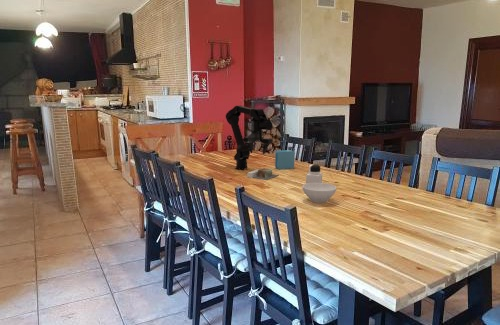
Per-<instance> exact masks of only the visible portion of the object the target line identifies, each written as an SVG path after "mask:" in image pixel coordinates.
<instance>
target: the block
mask: <svg viewBox="0 0 500 325" xmlns="http://www.w3.org/2000/svg"><path fill="white" fill-rule="evenodd" d="M259 169H260V170H258V177H264V178H267V177H270V176H272V174H273V169H272V168H266V167H265V168H264V167H263V169H261V168H259Z"/></svg>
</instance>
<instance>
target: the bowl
mask: <svg viewBox="0 0 500 325" xmlns="http://www.w3.org/2000/svg"><path fill="white" fill-rule="evenodd" d="M301 188H302V191H303V193H304V194H305V196H307V197H308V199H309V200H310V201H311V202H312V203H315V204H325V203H327V202H328V201H329V200H330V199H331V198H332V197H333V196H334V195H335V193H336V192H337V186H336V185H334V184H331V183H327V182H326V183H325V182H322V183H307V184H306V183H304V184H302V187H301Z"/></svg>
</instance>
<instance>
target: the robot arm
mask: <svg viewBox="0 0 500 325" xmlns="http://www.w3.org/2000/svg"><path fill="white" fill-rule="evenodd" d="M242 114H245V115H248V116H250V117H251V119H250V122H252V130H251V133H250V134H249V135H247V136H244V137H243V134H242V132H241V128H240V125H239V121H240V116H241V115H242ZM225 119H226V122H227V123H228V124H229V125H230V126H231V129H232V132H233V136H234V139H235V143H236V150H235V151H236V153H235V154H234V156H233V159H234V160H235V162H236V165H235V166H236V167H234V169H235V170H246V169H248V161H247V160H249V158H250V155H251V154H253V152H254V150H253V149H254V143H255V142H256V143H257V142H259V143H262V155H265V154H266V152H267V149H268V147H269V145H271V144H273V141H274V140H273V138H271V137H270V138H269V137H265V138H264V136H263V133H264V130H265V131H270V130H272V129H273V124H274V123H273V122H272V121H271V118H268V117H267V115H266V114H265V111H264V109H263V108H251V107H247V106H243V105H235V106H234V107H233V108H231V109H230V110H228V111H227V113H225Z"/></svg>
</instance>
